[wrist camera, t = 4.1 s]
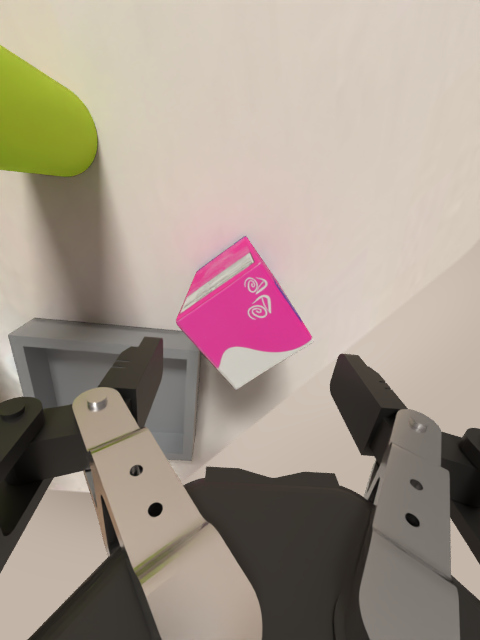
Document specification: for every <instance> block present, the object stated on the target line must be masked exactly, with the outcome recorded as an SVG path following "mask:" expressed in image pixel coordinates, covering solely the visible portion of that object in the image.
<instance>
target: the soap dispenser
mask: <svg viewBox="0 0 480 640" xmlns="http://www.w3.org/2000/svg"><path fill="white" fill-rule="evenodd" d="M96 151H97V132H96V128H95V124H94V121H93V119H92V117H91V115H90V113H89V111H88V109H87V108H86V106H85V105H84V104H83V102H82V101H81V100H80V99H79V98H78V97H77V96H76V95H75V94H74V93H73V92H71V91H70V90H69V89H67V88H66V87H64V86H62V85H61V84H59V83H58V82H56V81H55V80H53V79H52V78H50V77H49V76H47V75H46V74H44V73H43V72H41V71H39V70H38V69H36V68H35V67H33V66H32V65H30V64H29V63H27V62H26V61H24V60H23V59H21V58H20V57H18V56H16V55H15V54H13V53H12V52H10V51H9V50H7V49H6V48H4V47H3V46H1V45H0V170H7V171H17V172H26V173H35V174H44V175H53V176H63V177H70V176H75V175H78V174H80V173H82V172H84V171H85V170H86V169H87V168H88V167H89V166H90V165H91V163H92V162H93V160H94V158H95V155H96Z"/></svg>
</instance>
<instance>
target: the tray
mask: <svg viewBox="0 0 480 640" xmlns="http://www.w3.org/2000/svg"><path fill="white" fill-rule="evenodd" d="M145 336H148V337H159V338H163V375H162V380H161V383H160V386H159V388H158V391H157V394H156V396H155V399H154V402H153V404H152V407H151V410H150V412H149V415H148V418H147V420H146V423H145V426H144V427H147V428H148V429H149V431H150V432H151V434H152V435H153V437H154V439H155V440H156V442H157V444H158V445H159V447H160V448H161V450H162V452H163V453H164V455H165V457H166V458H167V460H186V461H192V454H193V447H194V440H195V431H196V417H197V403H198V388H199V374H200V360H201V351H200V350H199V349H198V348H197V347H196V345H195V344H194V343H193V342H192V341H191V340H190V339H189V338H188V337H187V335H186V334H185V333H184V332H183V331H175V330H164V329H152V328H141V327H130V326H119V325H108V324H97V323H85V322H74V321H63V320H52V319H41V318H34V319H32V320H31V321H29V322H28V323H26V324H24V325H23V326H21V327H20V328H18V329H16V330H15V331H13V332H12V333H10V334H9V335H8V337H9V341H10V345H11V349H12V353H13V357H14V361H15V364H16V368H17V372H18V376H19V380H20V384H21V388H22V392H23V396H24V397H34V398H37V399H39V400H40V401H41V403H42V406H43V409H46V408H52V407H59V406H66V405H70V404H73V402H74V400H75V399H76V398H77V397H78V396H79V395H80V394H82V393H83V392H85V391H88V390H90V389H94V388H97V387H98V385H99V384H100V382H101V381H102V380H103V378H104V377H105V375H106V374H107V372H108V371H109V369H110V368H111V367H112V365H113V364H114V362H115V361H116V359H117V358H118V357H119V355H120V354H121V352H123V351H124V350H126V349H127V348H129V347H131V346H133V347H138V346H139V345H140V343H141V341H142V340H143V338H144V337H145Z"/></svg>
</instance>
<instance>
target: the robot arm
mask: <svg viewBox="0 0 480 640" xmlns="http://www.w3.org/2000/svg"><path fill="white" fill-rule="evenodd" d="M162 375H163V338H159V337H148V336H145V337H144V338H143V340H142V341H141V343H140V345H139V346H138V347H133V346H131V347H129V348H127V349H126V350H124V351H123V352H121V354H120V355H119V357H118V358H117V359H116V361H115V362H114V364H113V365H112V367H111V368H110V369H109V371H108V372H107V374H106V375H105V377H104V378H103V380H102V381H101V382H100V384H99V385H98V387H97V388H94V389H90V390H88V391H85V392H83V393H82V394H80V395H79V396H78V397H77V398H76V399H75V400H74V402H73V404H70V405H66V406H59V407H52V408H46V409H43V406H42V403H41V401H40V400H39V399H37V398H34V397H18V398H13V399H10V400H7V401H4V402H2V403H0V573H1V571H2V569H3V567H4V565H5V564H6V562H7V560H8V558H9V556H10V555H11V553H12V551H13V549H14V547H15V546H16V544H17V542H18V540H19V538H20V537H21V535H22V533H23V531H24V530H25V528H26V526H27V524H28V522H29V521H30V519H31V517H32V515H33V513H34V511H35V510H36V508H37V506H38V504H39V502H40V501H41V499H42V497H43V495H44V494H45V492H46V490H47V488H48V486H49V485H50V483H51V481H52V479H53V478H54V477H57V476H62V475H66V474H70V473H75V472H79V471H83V472H84V475H85V478H86V481H87V485H88V488H89V491H90V494H91V497H92V500H93V504H94V507H95V510H96V513H97V516H98V520H99V524H100V528H101V532H102V537H103V541H104V544H105V548H106V551H107V554H108V558H107V559H106V560H105V561H104V562H103V563H102V564H101V565H100V566H99V567H98V568H97V569H96V570H95V571H94V572H93V573H92V574H91V575H90V577H88V578H87V580H85V582H83V583H82V585H81V586H80V587H79V588H78V589H77V590H76V591H75V592H74V593H73V594H72V595H71V596H70V597H69V598H68V599H67V600H66V601H65V602H64V603H63V604H62V605H61V606H60V607H59V608H58V609H57V610H56V611H55V612H54V613H53V614H52V615H51V616H50V617H49V618H48V619H47V620H46V622H44V623H43V625H42V626H41V627H40V628H39V629H38V630H37V631H36V632H35V633H34V634H33V635H32V636H31V637H30V638H29V639H28V640H480V601H479V600H478V599H477V598H476V597H475V596H474V595H473V594H472V593H471V592H469V591H468V590H467V589H466V588H465V587H464V586H463V585H461V583H460V582H458V581H457V580H456V579H455V578H454V577H453V576H452V575H451V558H450V557H451V554H450V553H451V551H450V518H451V519H452V521H453V522H454V524H455V526H456V527H457V529H458V530H459V532H460V534H461V535H462V537H463V538H464V540H465V541H466V543H467V545H468V546H469V548H470V549H471V551H472V553H473V554H474V556H475V557H476V559H477V561H478V562H479V564H480V429H477V428H470V429H468V430H467V431H466V432H465V434H464V436H463V437H462V438H461V437H458V436H454V435H451V434H447V433H444V432H441V430H440V428H439V426H438V425H437V424H436V423H435V422H434V421H433V420H432V419H430V418H429V417H427V416H426V415H424V414H422V413H420V412H417V411H414V410H410V409H408V408H406V406H405V405H404V404H403V403H402V401H401V400H400V399H399V398H398V396H397V395H396V394H395V393H394V392H393V390H391V388H390V387H389V386H388V384H387V383H385V381H384V379H383V378H382V377H381V376H380V375H379V374H378V373H377V372H376V371H374V370H373V369H371V368H370V367H367V365H366V364H365V363H364V362H363V360H362V359H361V358H360V357H359V356H358V355H351V354H340V355H339V357H338V359H337V362H336V366H335V369H334V372H333V375H332V379H331V382H330V392H331V395H332V397H333V399H334V401H335V403H336V405H337V407H338V409H339V411H340V413H341V415H342V417H343V419H344V421H345V423H346V425H347V427H348V429H349V431H350V433H351V435H352V437H353V439H354V441H355V443H356V445H357V447H358V449H359V451H360V453H361V455H368V456H375V458H376V461H375V463H374V465H373V468H372V471H371V475H370V478H369V481H368V484H367V488H366V491H365V494H364V497H362V496H361V495H359V494H357V493H356V492H354V491H352V490H350V489H347V488H345V487H343V486H339V484H338V481H337V479H336V476H335V474H334V473H333V474H332V473H314V472H301V473H297V474H292V475H287V476H282V477H278V478H269V477H266V476H263V475H259V474H255V473H252V472H249V471H246V470H242V469H239V468H220V467H206V476H205V478H202V479H198V480H195V481H192V482H190V483H187V484H185V485H182V483H181V481H180V480H179V478H178V476H177V475H176V473H175V471H174V470H173V468H172V467H171V465H170V463H169V462H168V460H167V458H166V457H165V455H164V453H163V452H162V450H161V448H160V447H159V445H158V444H157V442H156V440H155V439H154V437H153V435H152V434H151V432H150V431H149V429H148V428H147V427H144V426H145V423H146V420H147V418H148V415H149V412H150V410H151V407H152V404H153V402H154V399H155V396H156V394H157V391H158V388H159V386H160V383H161V380H162Z"/></svg>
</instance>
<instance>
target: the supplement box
mask: <svg viewBox="0 0 480 640" xmlns="http://www.w3.org/2000/svg"><path fill="white" fill-rule="evenodd" d="M176 323H177V325H178V326H179V327H180V329H181V330H182V331H183V332H184V333H185V334H186V335H187V337H188V338H189V339H190V340H191V341H192V342H193V343H194V344H195V345H196V347H197V348H198V349H199V350H200V351H201V352H202V353H203V355H204V356H205V357H206V358H207V359H208V360H209V361H210V362H211V363H212V365H213V366H214V367H215V368H216V369H217V370H218V371H219V372H220V373H221V374H222V375H223V377H224V378H225V379H226V380H227V381H228V382H229V383H230V384H231V385H232V386H233V388H234V389H235V390H237V389H239V388H240V387H242V386H243V385H245V384H246V383H248V382H249V381H251V380H253V379H254V378H256V377H257V376H259V375H260V374H262V373H264V372H265V371H267V370H268V369H270V368H272V367H273V366H275V365H276V364H278V363H280V362H282V361H283V360H285V359H287V358H288V357H290V356H292V355H293V354H295V353H296V352H298V351H300V350H301V349H303V348H305V347H306V346H308V345H310V344H311V343H313V341H314V340H313V338H312V336H311V334H310V333H309V331H308V330H307V328H306V326H305V325H304V323H303V322H302V320H301V318H300V317H299V315H298V313H297V312H296V310H295V308H294V307H293V305H292V304H291V302H290V301H289V299H288V297H287V296H286V294H285V292H284V291H283V289H282V288H281V286H280V285H279V283H278V282H277V280H276V279H275V277H274V276H273V274H272V273H271V272H270V270H269V269H268V267H267V266H266V264H265V263H264V261H263V260H262V259H261V257H260V256H259V254H258V253H257V251H256V250H255V248H254V247H253V246H252V244H251V243H250V241H249V240H248V238H247V237H246V236H245V237H243V238H242V239H240V240H239V241H238V242H236V243H235V244H234V245H232V246H231V247H229V248H228V249H227V250H225V251H224V252H223V253H221V254H220V255H218V256H217V257H216V258H214V259H213V260H212V261H210V262H209V263H207V264H206V265H205V266H203V267H202V268H201V269H199V270H198V271H197V272H196V274H195V277H194V279H193V282H192V284H191V286H190V289H189V291H188V293H187V296H186V298H185V301H184V303H183V305H182V308H181V310H180V312H179V314H178V316H177V319H176Z"/></svg>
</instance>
